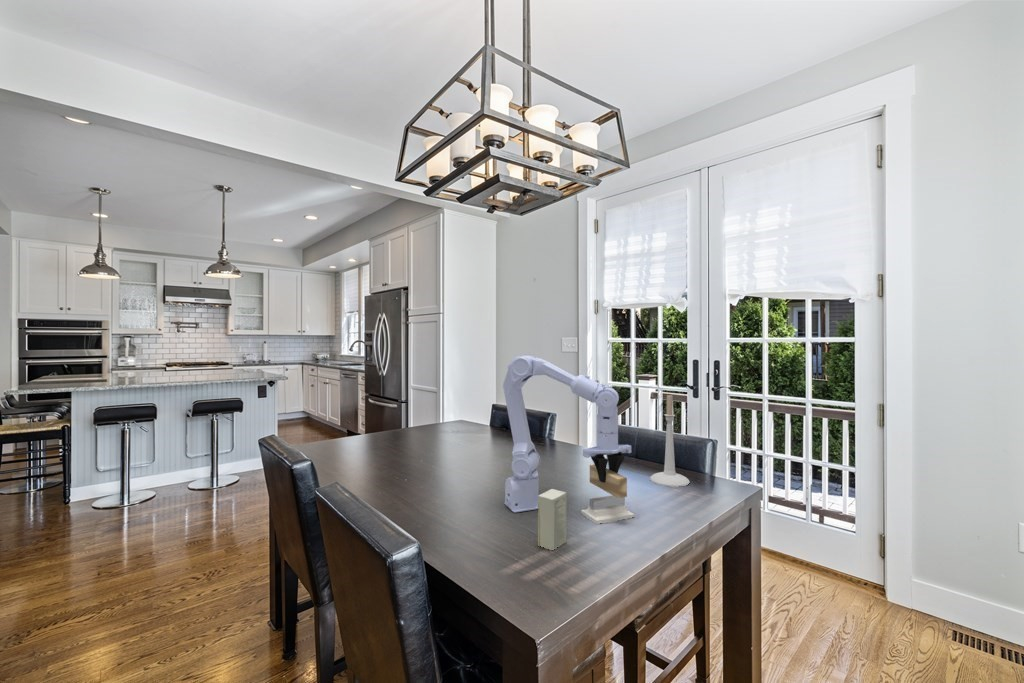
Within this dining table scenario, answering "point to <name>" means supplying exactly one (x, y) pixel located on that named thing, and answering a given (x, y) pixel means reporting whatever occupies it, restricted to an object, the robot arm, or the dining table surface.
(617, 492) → the oak bar
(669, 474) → the candlestick
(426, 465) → the dining table surface
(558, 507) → the skincare box
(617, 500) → the ridge stand
